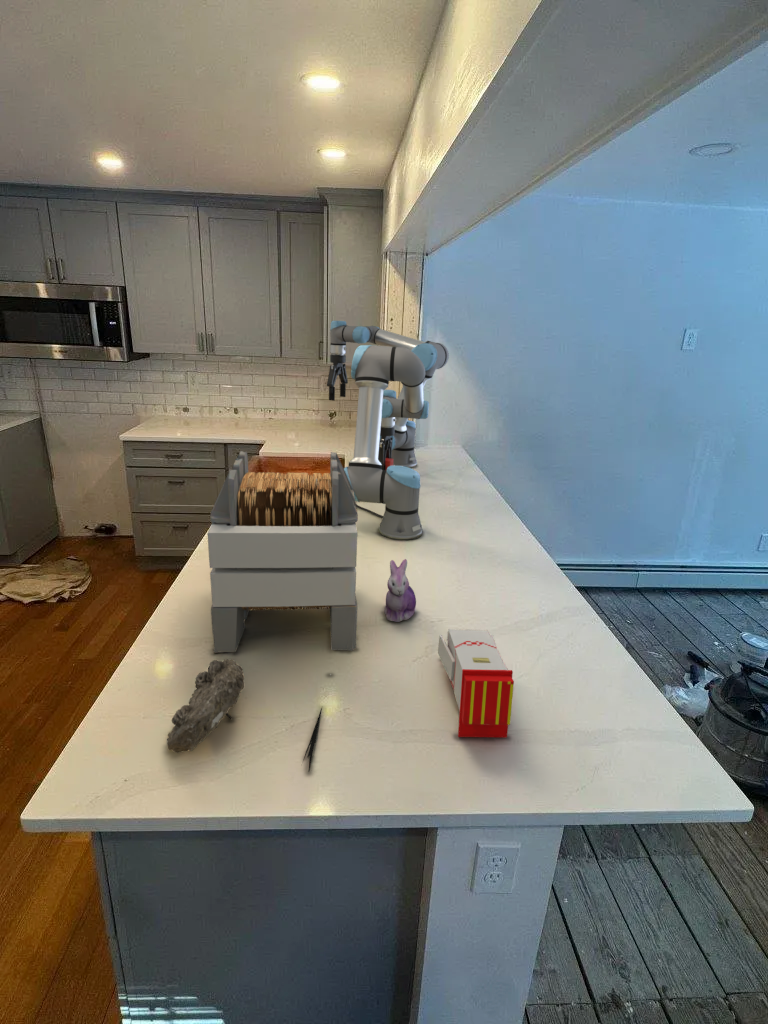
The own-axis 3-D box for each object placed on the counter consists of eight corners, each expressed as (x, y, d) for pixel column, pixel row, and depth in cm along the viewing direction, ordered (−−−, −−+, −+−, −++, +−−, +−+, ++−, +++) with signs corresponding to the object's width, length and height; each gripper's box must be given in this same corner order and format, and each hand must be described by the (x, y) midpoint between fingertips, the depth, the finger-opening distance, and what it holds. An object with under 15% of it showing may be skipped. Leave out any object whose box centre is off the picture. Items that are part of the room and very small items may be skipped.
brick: (389, 486, 253) (390, 461, 249) (375, 484, 255) (376, 459, 251) (392, 483, 257) (393, 458, 253) (378, 481, 259) (379, 457, 255)
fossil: (192, 660, 117) (244, 628, 112) (224, 691, 120) (276, 661, 115) (142, 746, 98) (202, 712, 93) (182, 779, 101) (242, 748, 96)
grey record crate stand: (232, 584, 158) (225, 442, 144) (349, 583, 162) (353, 444, 148) (211, 655, 127) (198, 480, 113) (357, 651, 130) (362, 482, 117)
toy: (488, 613, 130) (523, 677, 101) (484, 667, 133) (517, 744, 104) (435, 612, 130) (455, 676, 101) (432, 666, 133) (451, 743, 103)
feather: (331, 679, 122) (336, 673, 122) (307, 777, 96) (313, 769, 95) (324, 675, 122) (329, 669, 121) (298, 772, 95) (304, 764, 95)
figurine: (392, 627, 141) (395, 572, 136) (374, 608, 149) (376, 556, 144) (425, 619, 145) (429, 566, 140) (405, 601, 154) (408, 550, 149)
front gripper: (387, 430, 238) (385, 483, 246) (400, 423, 254) (397, 473, 262) (371, 428, 240) (369, 481, 248) (384, 421, 256) (382, 471, 264)
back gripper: (334, 356, 262) (334, 402, 269) (354, 353, 284) (353, 396, 291) (320, 355, 264) (319, 401, 271) (341, 352, 286) (340, 394, 293)
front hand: (383, 477), depth 255 cm, fingers closed on brick, 5 cm apart
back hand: (337, 398), depth 281 cm, fingers open, 13 cm apart
